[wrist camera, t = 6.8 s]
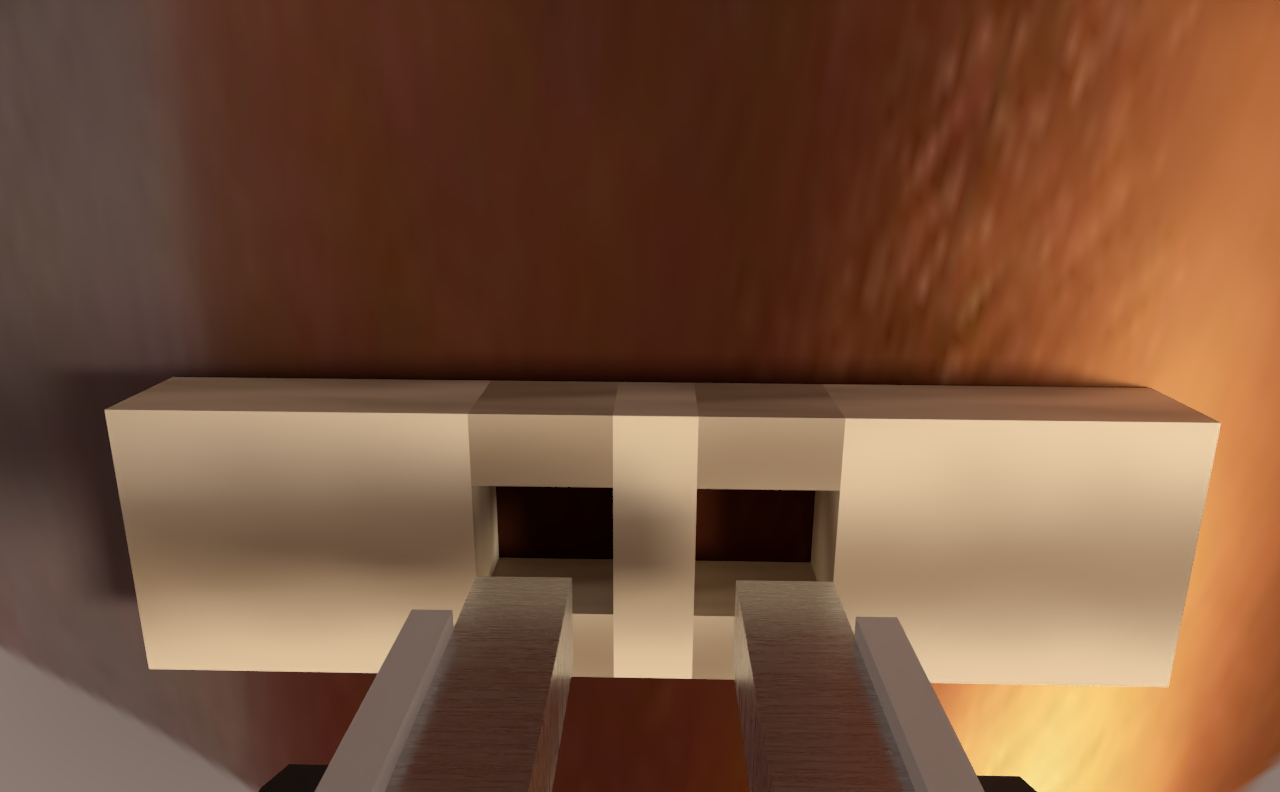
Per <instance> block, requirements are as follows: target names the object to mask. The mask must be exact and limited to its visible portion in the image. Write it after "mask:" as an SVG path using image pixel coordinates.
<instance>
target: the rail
mask: <svg viewBox="0 0 1280 792" xmlns="http://www.w3.org/2000/svg"><path fill="white" fill-rule="evenodd" d="M105 416H106V422H107V428H108V434H109V439H110V445H111V451H112V457H113V463H114V468H115V474H116V480H117V486H118V492H119V497H120V503H121V509H122V515H123V521H124V526H125V532H126V538H127V544H128V550H129V556H130V561H131V567H132V573H133V579H134V585H135V590H136V596H137V602H138V608H139V614H140V619H141V625H142V631H143V637H144V643H145V648H146V654H147V660H148V666H149V669H174V670H231V671H287V672H343V673H378V672H379V670H380V668H381V666H382V664H383V663H384V661H385V659H386V657H387V655H388V653H389V651H390V649H391V648H392V646H393V644H394V642H395V640H396V638H397V636H398V634H399V633H400V631H401V629H402V627H403V625H404V623H405V621H406V619H407V618H408V616H409V614H410V612H411V610H412V609H419V610H453V627H454V626H455V624H456V622H457V619H458V617H459V615H460V612H461V610H462V608H463V605H464V603H465V601H466V598H467V596H468V594H469V591H470V589H471V587H472V584H473V582H474V580H475V577H476V576H491V577H555V578H572V611H573V668H572V674H571V677H625V678H681V679H735V678H734V671H733V644H734V618H735V593H736V580H749V581H813V582H833V583H834V585H835V588H836V590H837V593H838V595H839V598H840V600H841V603H842V605H843V608H844V610H845V613H846V615H847V618H848V620H849V623H850V626H851V628H852V631H853V633H855V621H856V617H897V618H898V620H899V622H900V624H901V626H902V628H903V630H904V632H905V634H906V636H907V638H908V640H909V642H910V644H911V646H912V648H913V650H914V652H915V654H916V656H917V658H918V660H919V662H920V664H921V666H922V668H923V670H924V672H925V674H926V676H927V678H928V680H929V682H930V683H963V684H1019V685H1075V686H1132V687H1168V686H1169V681H1170V676H1171V671H1172V666H1173V661H1174V656H1175V651H1176V646H1177V641H1178V636H1179V631H1180V626H1181V621H1182V616H1183V611H1184V606H1185V601H1186V596H1187V591H1188V586H1189V581H1190V576H1191V571H1192V566H1193V561H1194V556H1195V551H1196V546H1197V541H1198V536H1199V531H1200V526H1201V521H1202V516H1203V511H1204V506H1205V501H1206V496H1207V491H1208V486H1209V481H1210V476H1211V471H1212V466H1213V461H1214V456H1215V451H1216V446H1217V441H1218V436H1219V431H1220V426H1221V423H1220V422H1218V421H1216V420H1214V419H1212V418H1210V417H1208V416H1206V415H1204V414H1202V413H1200V412H1198V411H1196V410H1194V409H1192V408H1190V407H1188V406H1186V405H1184V404H1182V403H1180V402H1178V401H1176V400H1174V399H1172V398H1170V397H1168V396H1166V395H1164V394H1162V393H1160V392H1158V391H1156V390H1154V389H1152V388H1118V387H1028V386H938V385H848V384H758V383H667V382H577V381H487V380H397V379H307V378H217V377H172V378H169V379H167V380H165V381H163V382H161V383H159V384H157V385H155V386H153V387H151V388H149V389H146V390H144V391H142V392H140V393H138V394H136V395H134V396H132V397H130V398H128V399H126V400H123V401H121V402H119V403H117V404H115V405H113V406H111V407H109V408H107V409H105ZM496 486H531V487H605V488H613V559H551V558H499V546H498V523H497V500H496ZM697 489H754V490H815V504H814V519H813V534H812V549H811V562H749V561H695V542H696V503H697Z"/></svg>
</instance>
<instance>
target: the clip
mask: <svg viewBox="0 0 1280 792" xmlns="http://www.w3.org/2000/svg"><path fill="white" fill-rule="evenodd" d="M572 668H573V611H572V578H555V577H491V576H476V577H475V580H474V582H473V584H472V587H471V589H470V591H469V594H468V596H467V598H466V601H465V603H464V605H463V608H462V610H461V612H460V615H459V617H458V619H457V622H456V624H455V626H454V631H453V633H452V635H451V638H450V640H449V642H448V645H447V647H446V649H445V652H444V654H443V656H442V659H441V661H440V663H439V666H438V668H437V670H436V673H435V675H434V677H433V680H432V682H431V684H430V687H429V689H428V691H427V694H426V696H425V698H424V701H423V703H422V705H421V708H420V710H419V712H418V715H417V717H416V720H415V722H414V724H413V727H412V729H411V731H410V734H409V736H408V738H407V741H406V743H405V745H404V748H403V750H402V752H401V755H400V757H399V759H398V762H397V764H396V766H395V769H394V771H393V773H392V776H391V778H390V780H389V783H388V785H387V787H386V790H385V792H552V787H553V781H554V775H555V769H556V763H557V757H558V751H559V745H560V739H561V733H562V727H563V721H564V715H565V709H566V703H567V697H568V691H569V686H570V680H571V674H572ZM733 671H734V678H735V685H736V693H737V700H738V707H739V714H740V721H741V728H742V735H743V742H744V750H745V757H746V764H747V771H748V778H749V785H750V792H915V789H914V787H913V784H912V782H911V779H910V776H909V774H908V771H907V769H906V766H905V764H904V761H903V759H902V756H901V754H900V751H899V749H898V746H897V744H896V741H895V739H894V736H893V733H892V731H891V728H890V726H889V723H888V721H887V718H886V716H885V713H884V711H883V708H882V706H881V703H880V701H879V698H878V696H877V693H876V691H875V688H874V685H873V683H872V680H871V678H870V675H869V673H868V670H867V668H866V665H865V663H864V660H863V658H862V655H861V653H860V650H859V648H858V645H857V642H856V640H855V637H854V633H853V631H852V628H851V626H850V623H849V620H848V618H847V615H846V613H845V610H844V608H843V605H842V603H841V600H840V598H839V595H838V593H837V590H836V588H835V585H834V583H833V582H813V581H749V580H736V593H735V618H734V644H733Z"/></svg>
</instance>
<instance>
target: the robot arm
mask: <svg viewBox="0 0 1280 792" xmlns="http://www.w3.org/2000/svg"><path fill="white" fill-rule="evenodd" d="M453 631H454V627H453V610H419V609H412V610H411V612H410V614H409V616H408V618H407V619H406V621H405V623H404V625H403V627H402V629H401V631H400V633H399V634H398V636H397V638H396V640H395V642H394V644H393V646H392V648H391V649H390V651H389V653H388V655H387V657H386V659H385V661H384V663H383V664H382V666H381V668H380V670H379V672H378V674H377V676H376V678H375V679H374V681H373V683H372V685H371V687H370V689H369V691H368V693H367V694H366V696H365V698H364V700H363V702H362V704H361V706H360V708H359V709H358V711H357V713H356V715H355V717H354V719H353V721H352V723H351V724H350V726H349V728H348V730H347V732H346V734H345V736H344V738H343V739H342V741H341V743H340V745H339V747H338V749H337V751H336V753H335V754H334V756H333V758H332V760H331V762H330V764H329V765H298V764H289V765H288V766H287V767H285V768H284V769H283V770H282V771H281V772H279V773H278V774H277V775H276V776H275V777H273V778H272V779H271V780H270V781H269V782H267V783H266V784H265V785H264V786H263V787H262V788H261V789H260V790H259V792H385V790H386V787H387V785H388V783H389V780H390V778H391V776H392V773H393V771H394V769H395V766H396V764H397V762H398V759H399V757H400V755H401V752H402V750H403V748H404V745H405V743H406V741H407V738H408V736H409V734H410V731H411V729H412V727H413V724H414V722H415V720H416V717H417V715H418V712H419V710H420V708H421V705H422V703H423V701H424V698H425V696H426V694H427V691H428V689H429V687H430V684H431V682H432V680H433V677H434V675H435V673H436V670H437V668H438V666H439V663H440V661H441V659H442V656H443V654H444V652H445V649H446V647H447V645H448V642H449V640H450V638H451V635H452V633H453ZM854 637H855V640H856V642H857V645H858V648H859V650H860V653H861V655H862V658H863V660H864V663H865V665H866V668H867V670H868V673H869V675H870V678H871V680H872V683H873V685H874V688H875V691H876V693H877V696H878V698H879V701H880V703H881V706H882V708H883V711H884V713H885V716H886V718H887V721H888V723H889V726H890V728H891V731H892V733H893V736H894V739H895V741H896V744H897V746H898V749H899V751H900V754H901V756H902V759H903V761H904V764H905V766H906V769H907V771H908V774H909V776H910V779H911V782H912V784H913V787H914V789H915V792H1036V791H1035V790H1034V789H1033V788H1032V787H1031V786H1029V785H1028V784H1027V783H1026V782H1025V781H1024V780H1023V779H1022V778H1020V777H1015V776H977V775H976V773H975V771H974V769H973V767H972V765H971V763H970V761H969V759H968V757H967V755H966V753H965V751H964V749H963V747H962V745H961V743H960V741H959V739H958V737H957V735H956V733H955V731H954V729H953V727H952V725H951V723H950V721H949V719H948V717H947V715H946V713H945V711H944V709H943V707H942V705H941V703H940V701H939V699H938V697H937V695H936V693H935V691H934V689H933V688H932V686H931V684H930V682H929V680H928V678H927V676H926V674H925V672H924V670H923V668H922V666H921V664H920V662H919V660H918V658H917V656H916V654H915V652H914V650H913V648H912V646H911V644H910V642H909V640H908V638H907V636H906V634H905V632H904V630H903V628H902V626H901V624H900V622H899V620H898V618H897V617H856V621H855V633H854Z"/></svg>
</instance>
